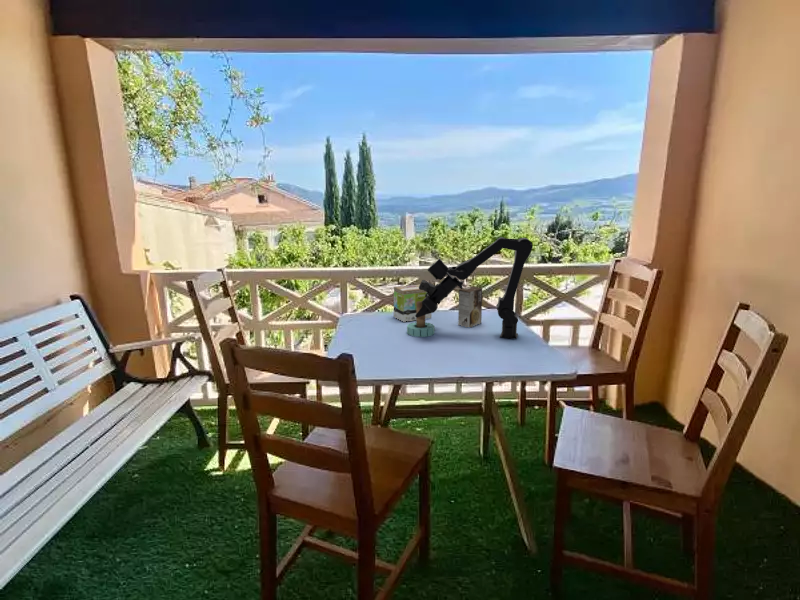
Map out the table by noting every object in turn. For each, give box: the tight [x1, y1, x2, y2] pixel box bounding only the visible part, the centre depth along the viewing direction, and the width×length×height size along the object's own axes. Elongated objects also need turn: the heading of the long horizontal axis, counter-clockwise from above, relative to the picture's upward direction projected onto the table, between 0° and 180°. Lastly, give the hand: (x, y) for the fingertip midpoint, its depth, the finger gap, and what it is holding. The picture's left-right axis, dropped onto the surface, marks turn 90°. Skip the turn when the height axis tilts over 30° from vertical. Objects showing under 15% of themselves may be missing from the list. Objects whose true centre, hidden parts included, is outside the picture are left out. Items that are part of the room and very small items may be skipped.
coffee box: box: [457, 286, 483, 328], centre depth 198 cm, size 9×6×16 cm
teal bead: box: [406, 321, 436, 338], centre depth 188 cm, size 11×11×3 cm
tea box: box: [393, 284, 433, 323], centre depth 210 cm, size 15×10×15 cm, turn 118°
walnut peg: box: [415, 301, 426, 328], centre depth 187 cm, size 4×4×13 cm
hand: (417, 313), depth 187 cm, fingers open, 9 cm apart
